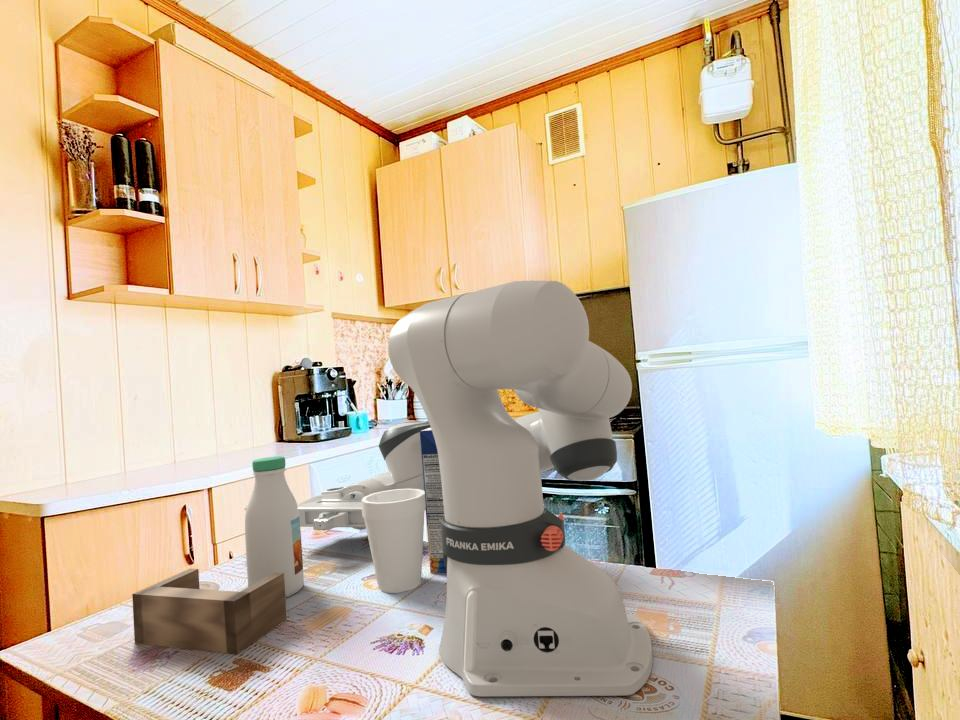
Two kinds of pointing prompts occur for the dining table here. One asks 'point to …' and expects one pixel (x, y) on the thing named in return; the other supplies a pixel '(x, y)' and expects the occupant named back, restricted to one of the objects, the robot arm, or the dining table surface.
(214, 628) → the walnut dock
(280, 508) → the milk bottle
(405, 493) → the foam cup
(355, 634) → the dining table surface
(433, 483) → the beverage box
